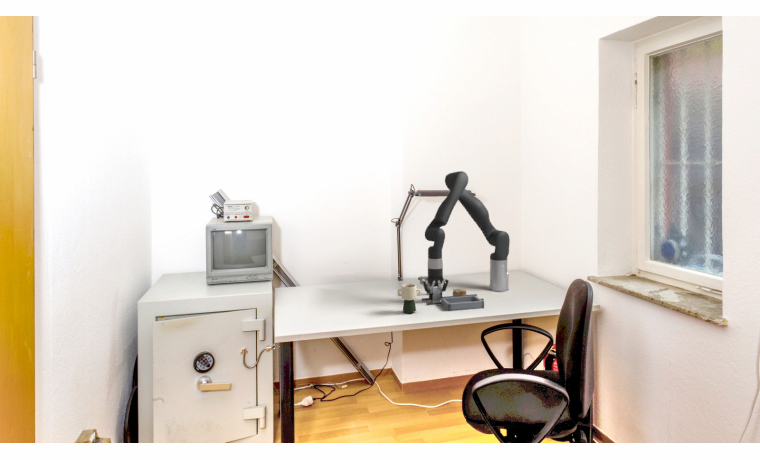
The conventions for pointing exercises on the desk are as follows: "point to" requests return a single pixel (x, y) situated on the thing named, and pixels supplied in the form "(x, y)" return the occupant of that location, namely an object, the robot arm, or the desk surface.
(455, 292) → the slider
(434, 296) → the stop block
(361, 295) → the desk surface
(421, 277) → the mechanical component
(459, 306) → the tray
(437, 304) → the slide rails
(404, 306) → the character mug
